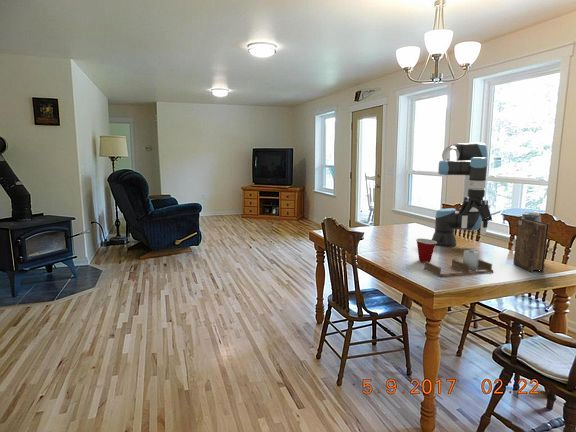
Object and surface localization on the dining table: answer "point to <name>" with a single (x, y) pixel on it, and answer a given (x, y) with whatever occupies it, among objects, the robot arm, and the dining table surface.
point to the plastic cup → (425, 249)
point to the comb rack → (459, 268)
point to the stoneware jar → (471, 259)
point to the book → (531, 244)
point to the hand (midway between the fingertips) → (473, 230)
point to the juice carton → (532, 216)
